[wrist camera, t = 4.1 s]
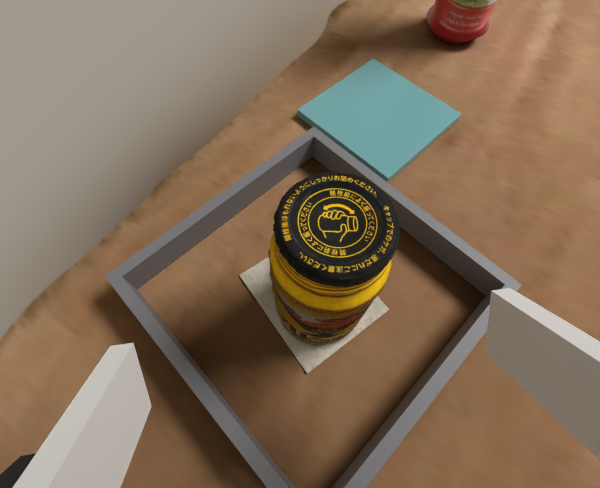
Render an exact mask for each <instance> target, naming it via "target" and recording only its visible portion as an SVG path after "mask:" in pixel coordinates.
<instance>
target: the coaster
mask: <svg viewBox="0 0 600 488" xmlns="http://www.w3.org/2000/svg"><path fill="white" fill-rule="evenodd" d="M461 115H462V114H461V113H459V112H458V111H456V110H454V109H453V108H451V107H450V106H448V105H446V104H445V103H443V102H442V101H440V100H438V99H437V98H435V97H434V96H432V95H431V94H429V93H427V92H426V91H424V90H423V89H421V88H419V87H418V86H416V85H415V84H413V83H411V82H410V81H408V80H407V79H405V78H403V77H402V76H400V75H399V74H397V73H396V72H394V71H392V70H391V69H389V68H388V67H386V66H384V65H383V64H381V63H380V62H378V61H376V60H375V59H372V60H370V61H369V62H367V63H366V64H364V65H363V66H361V67H360V68H358V69H357V70H355V71H354V72H352V73H351V74H350V75H348V76H347V77H345V78H344V79H342V80H341V81H339V82H338V83H336V84H335V85H333V86H332V87H330V88H329V89H327V90H326V91H324V92H323V93H321V94H320V95H319V96H317V97H316V98H314V99H313V100H311V101H310V102H308V103H307V104H305V105H304V106H302V107H301V108H299V109H298V117H299V118H300V119H302V120H303V121H304V122H306V123H307V124H308V125H310V126H311V127H315V128H317V129H318V130H319V131H321V132H322V133H323V134H325V135H326V136H327V137H329V138H330V139H331V140H333V141H334V142H335V143H336V144H338V145H339V146H340V147H342V148H343V149H344V150H346V151H347V152H348V153H350V154H351V155H352V156H353V157H355V158H356V159H357V160H359V161H360V162H361V163H363V164H364V165H365V166H367V167H368V168H369V169H371V170H372V171H373V172H374V173H376V174H377V175H378V176H380V177H381V178H382V179H384V180H385V181H386V182H389V181H390V180H391V179H393V178H394V177H395V176H396V175H397V174H398V173H399V172H401V171H402V170H403V169H404V168H405V167H406V166H407V165H408V164H410V163H411V162H412V161H413V160H414V159H415V158H416V157H418V156H419V155H420V154H421V153H422V152H423V151H424V150H425V149H427V148H428V147H429V146H430V145H431V144H432V143H433V142H435V141H436V140H437V139H438V138H439V137H440V136H441V135H442V134H444V133H445V132H446V131H447V130H448V129H449V128H450V127H452V126H453V125H454V124H455V123H456V122H457V121H458V120H459V118H460V117H461Z"/></svg>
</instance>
